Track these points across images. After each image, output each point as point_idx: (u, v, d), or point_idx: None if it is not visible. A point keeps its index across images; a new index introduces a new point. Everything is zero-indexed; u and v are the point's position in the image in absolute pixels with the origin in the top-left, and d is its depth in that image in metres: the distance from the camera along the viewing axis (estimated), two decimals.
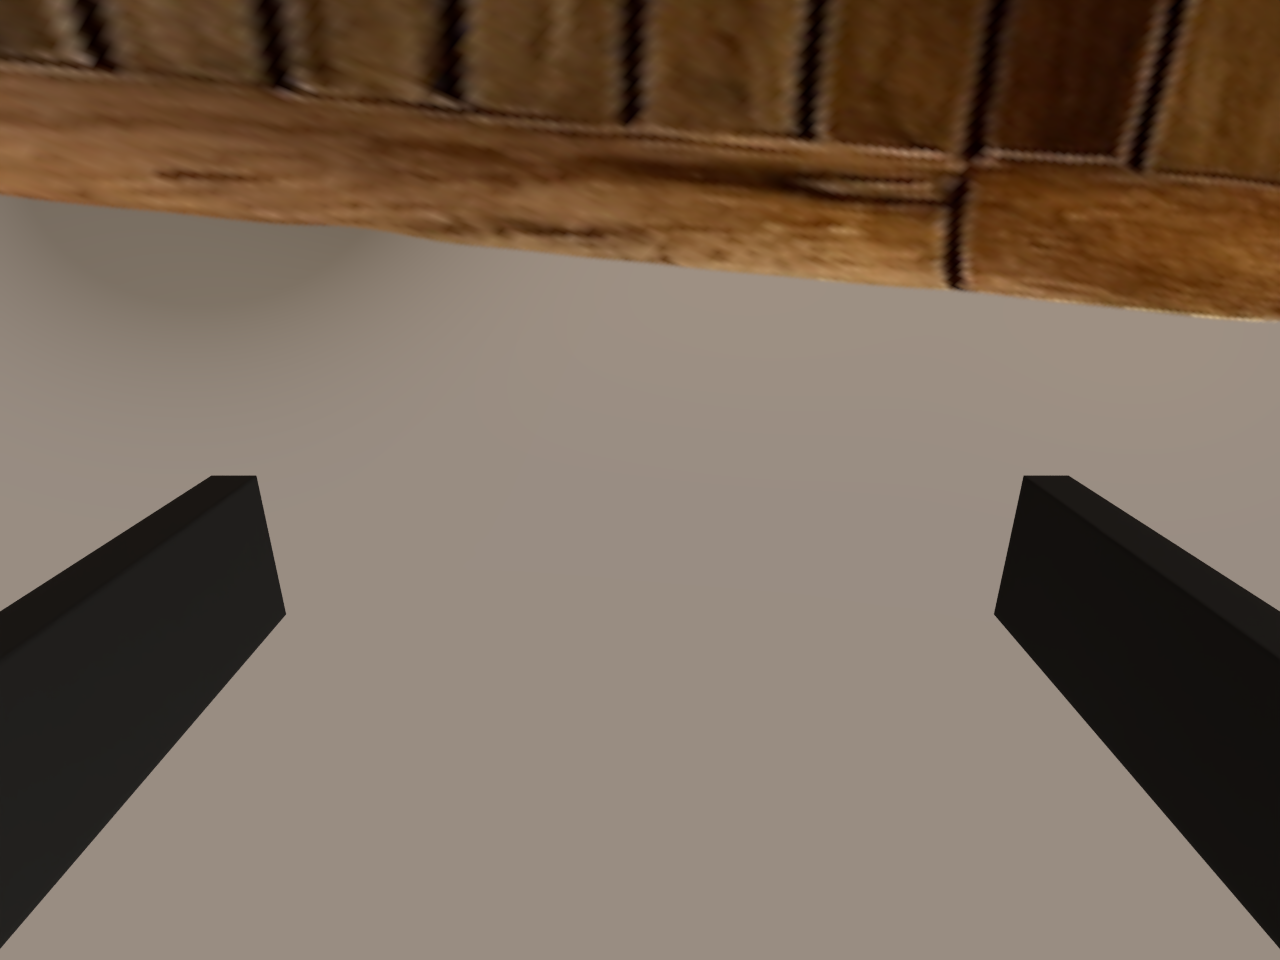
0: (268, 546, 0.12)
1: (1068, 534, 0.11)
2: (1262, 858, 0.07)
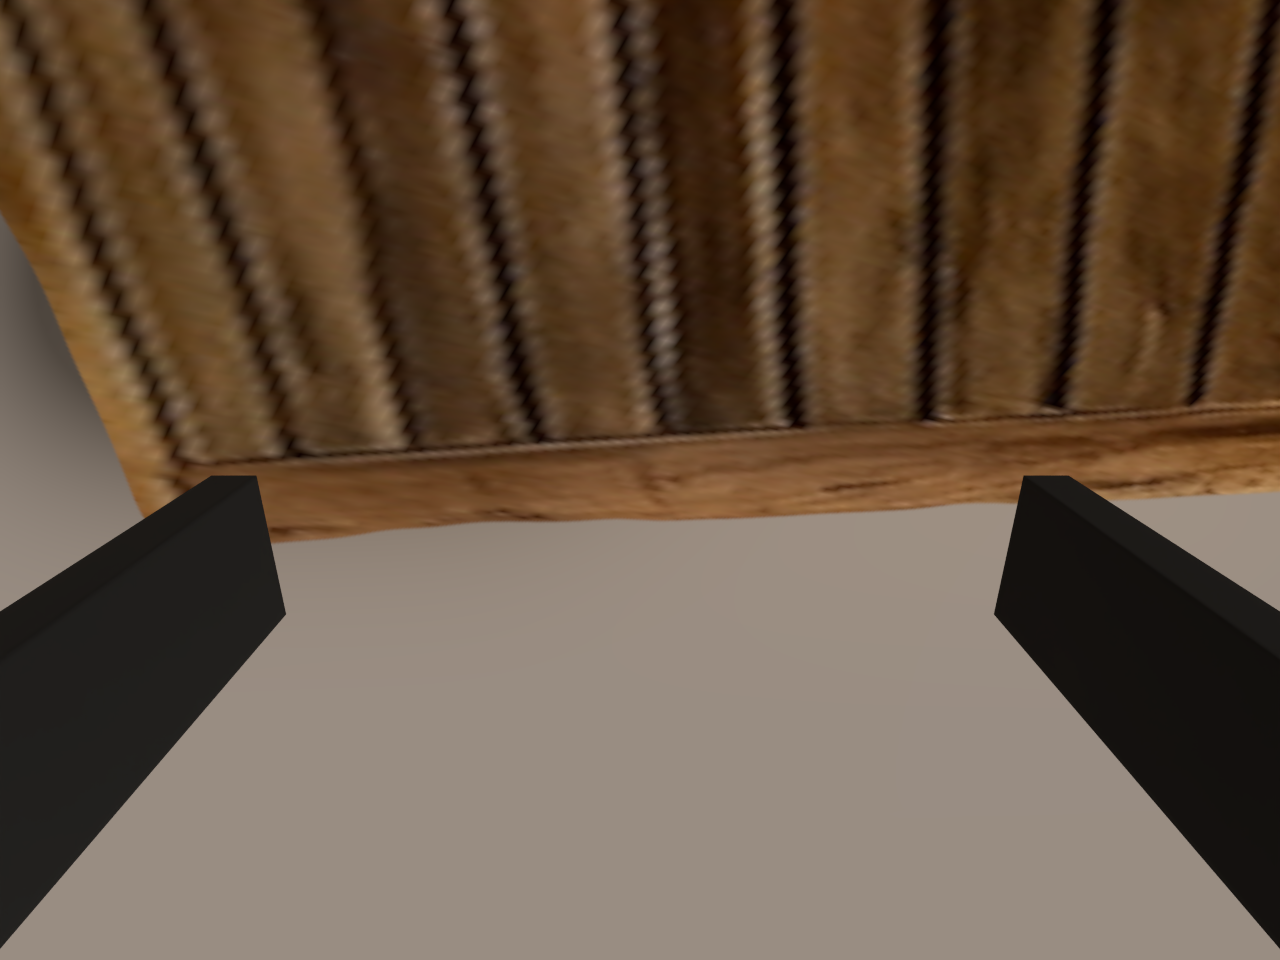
0: (269, 546, 0.12)
1: (1068, 534, 0.11)
2: (1262, 858, 0.07)
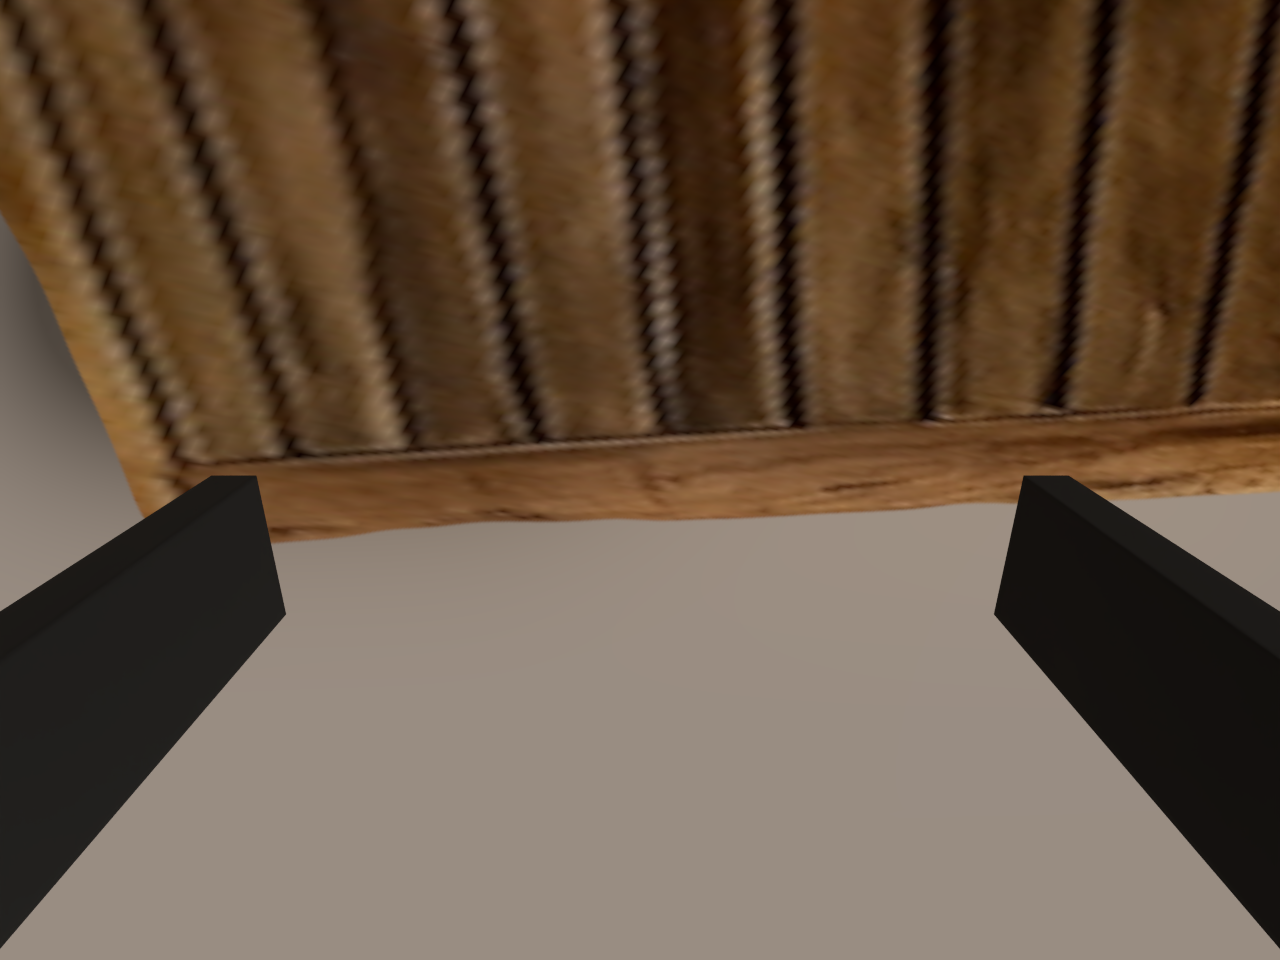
0: (269, 546, 0.12)
1: (1068, 534, 0.11)
2: (1262, 858, 0.07)
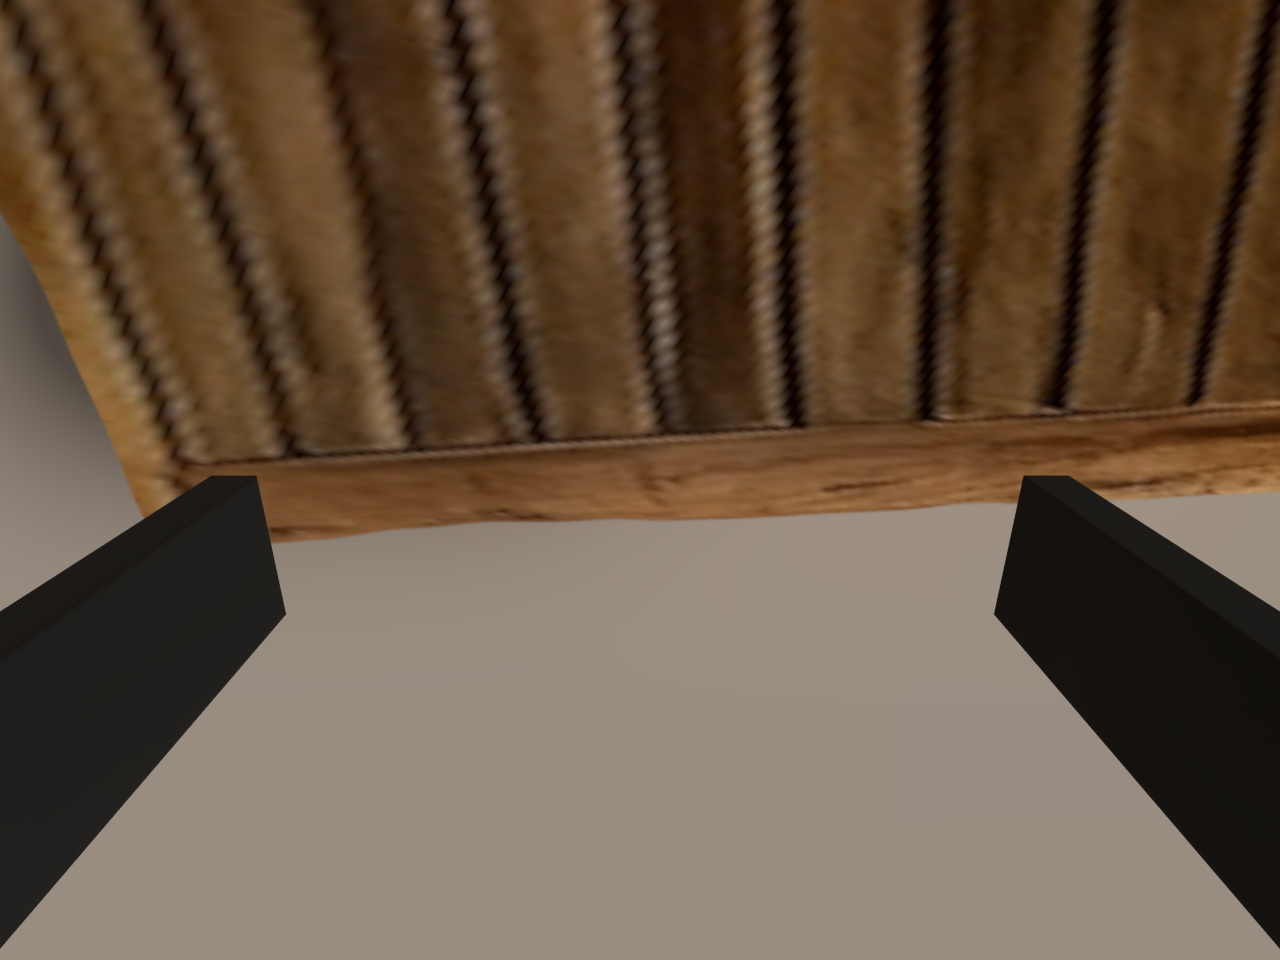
0: (269, 546, 0.12)
1: (1068, 534, 0.11)
2: (1262, 858, 0.07)
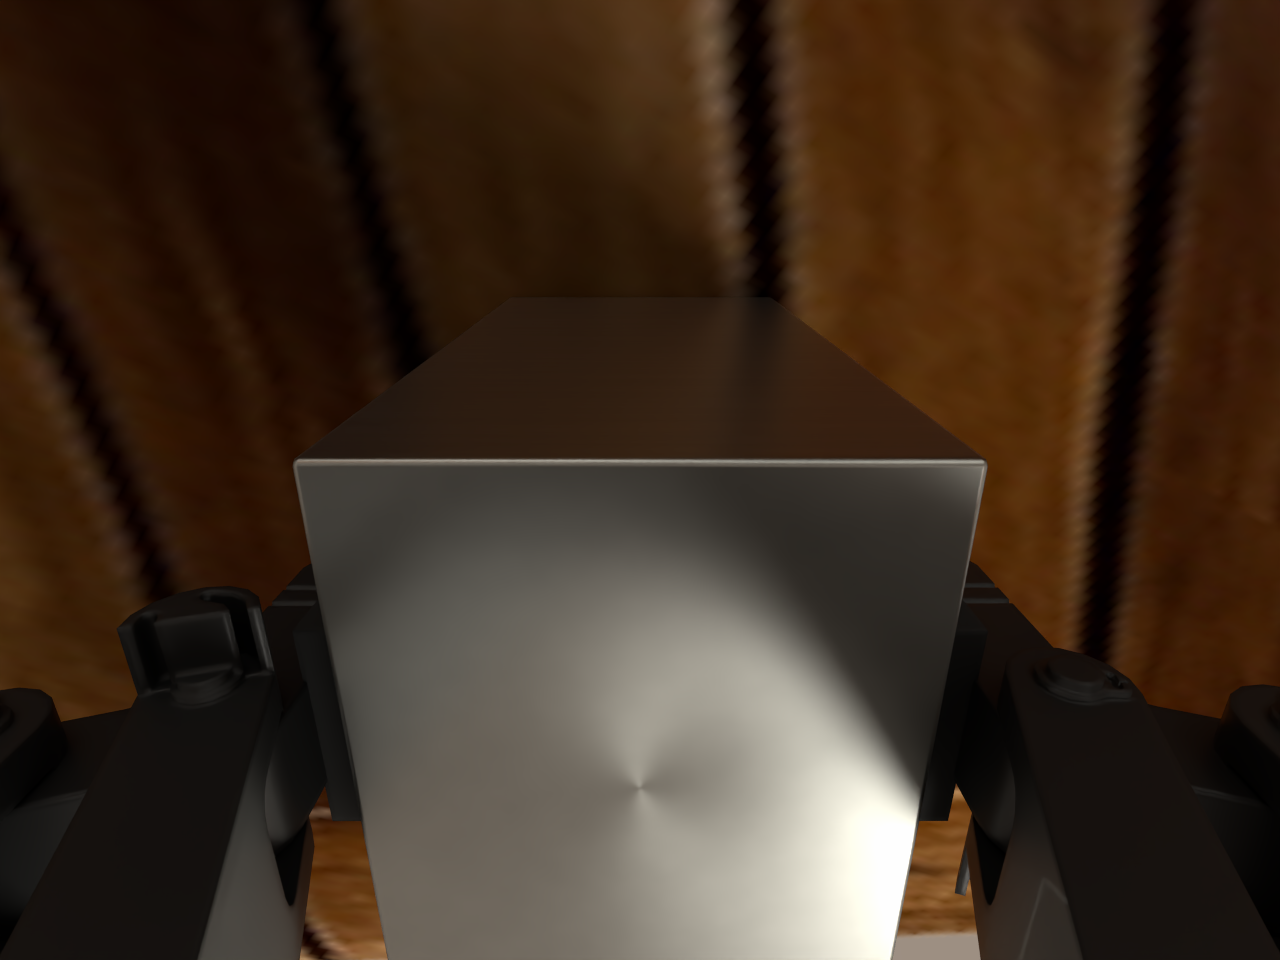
0: None
1: None
2: None
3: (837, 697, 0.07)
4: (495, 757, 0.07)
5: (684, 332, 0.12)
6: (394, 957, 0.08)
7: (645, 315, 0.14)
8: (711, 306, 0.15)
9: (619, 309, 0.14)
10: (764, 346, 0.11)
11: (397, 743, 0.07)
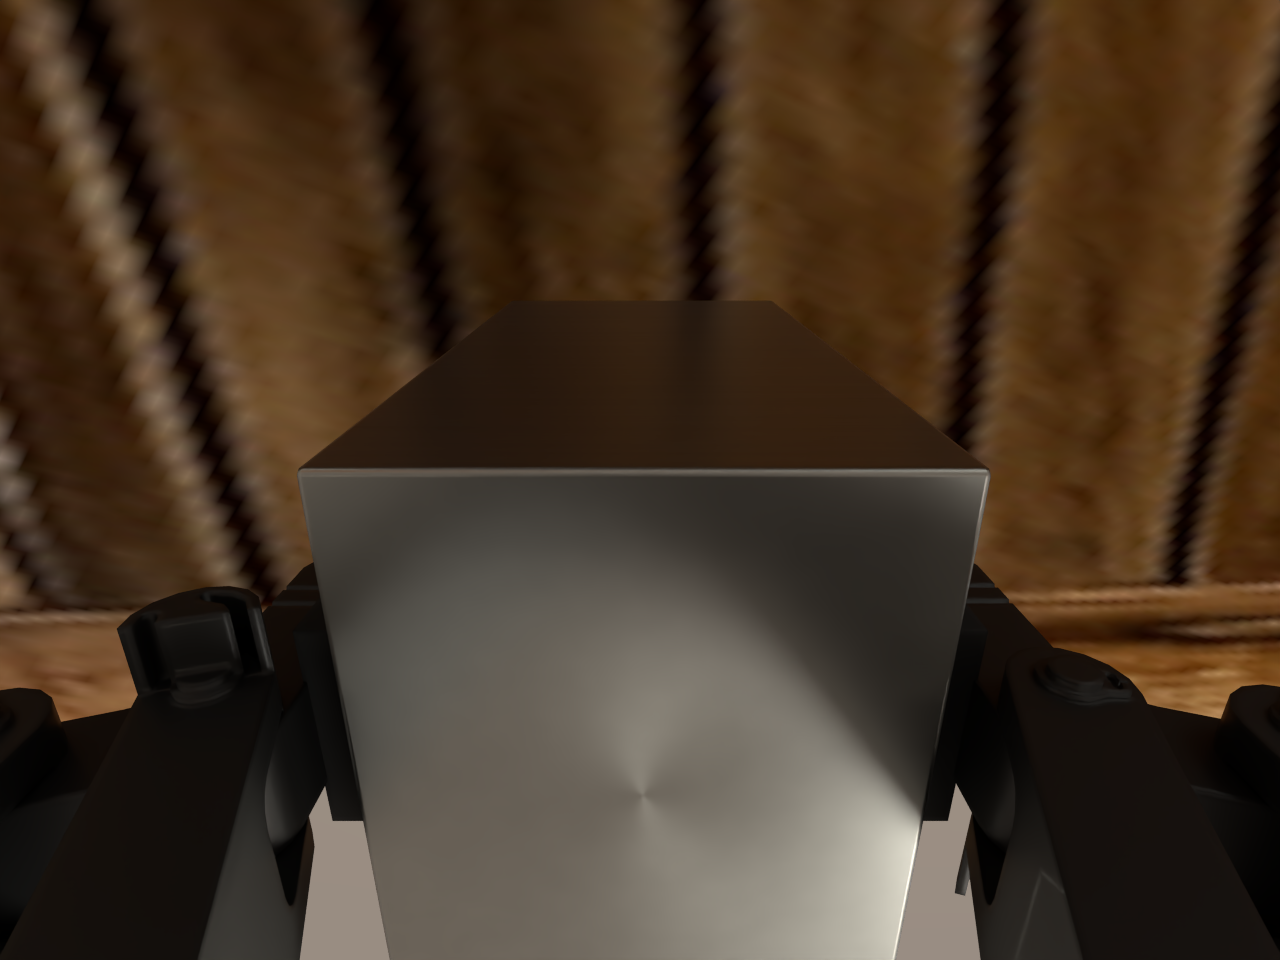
0: None
1: None
2: None
3: (840, 705, 0.07)
4: (499, 764, 0.07)
5: (686, 337, 0.12)
6: None
7: (647, 319, 0.14)
8: (712, 310, 0.15)
9: (620, 313, 0.14)
10: (766, 351, 0.11)
11: (401, 750, 0.07)
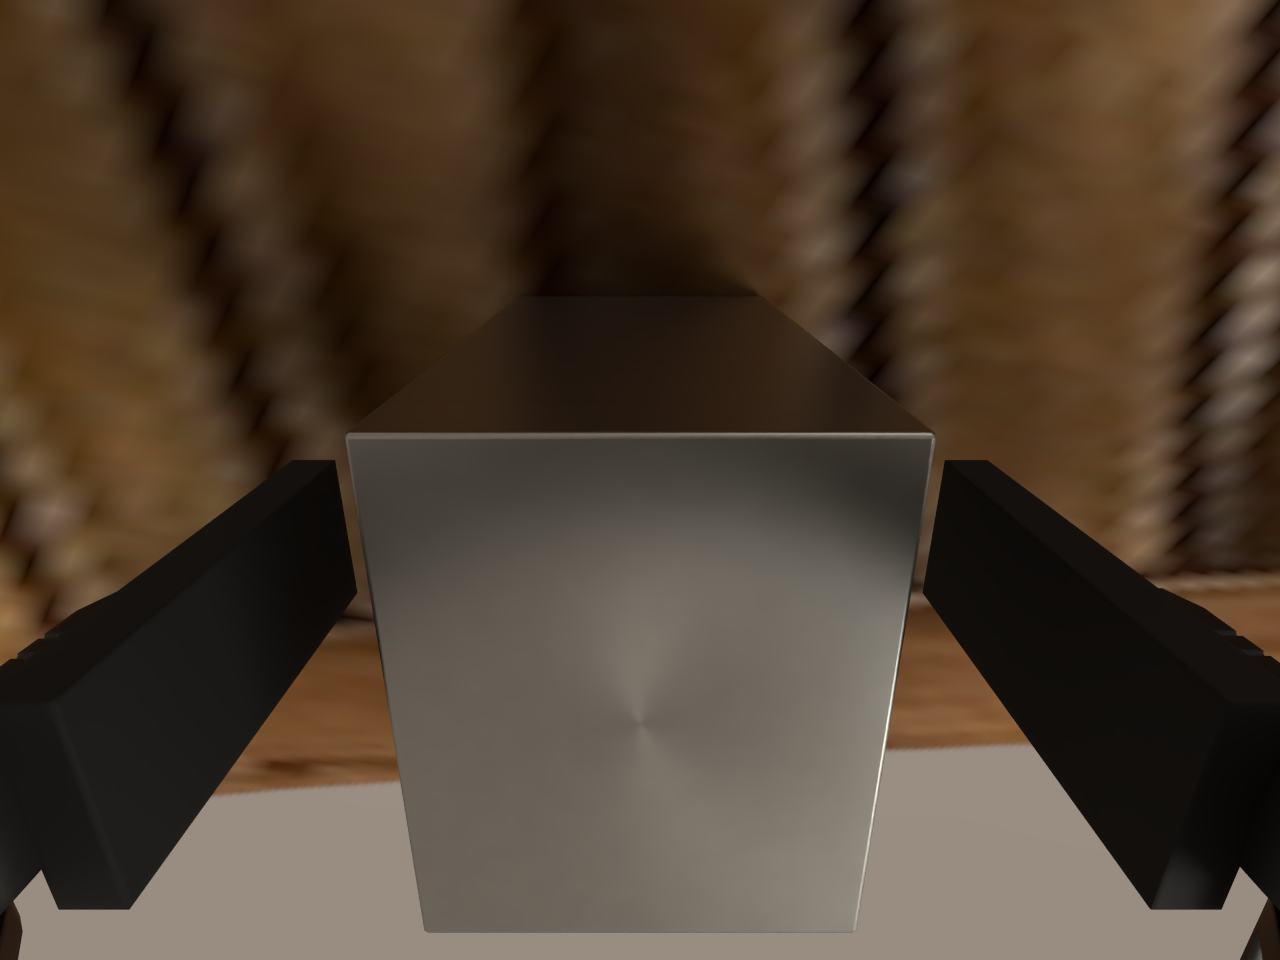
0: (343, 527, 0.13)
1: (978, 513, 0.11)
2: (1118, 800, 0.08)
3: (811, 640, 0.08)
4: (514, 695, 0.08)
5: (680, 328, 0.13)
6: (422, 881, 0.09)
7: (644, 313, 0.15)
8: (706, 304, 0.16)
9: (620, 307, 0.15)
10: (753, 340, 0.12)
11: (429, 683, 0.08)
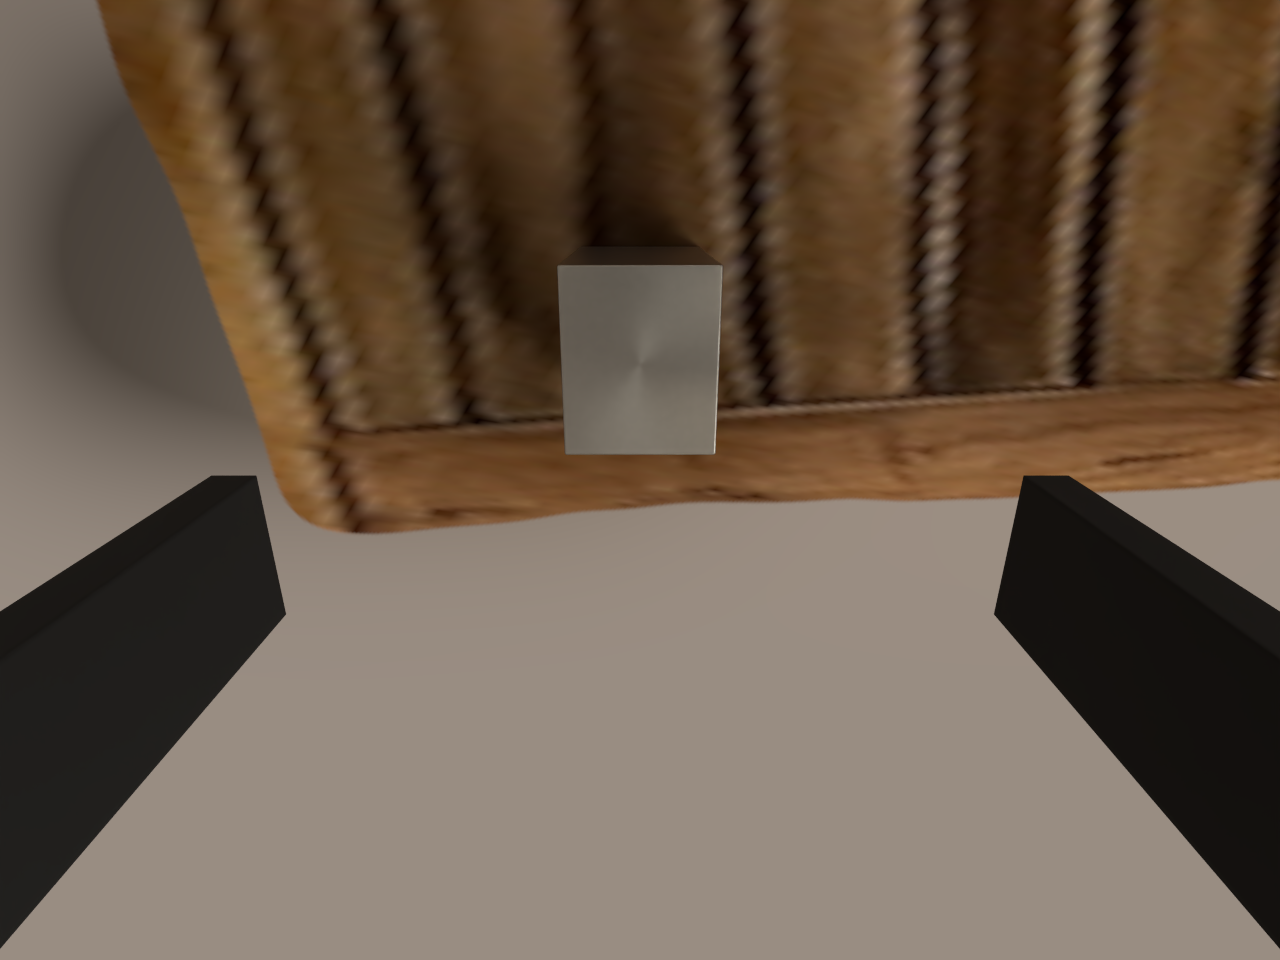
0: (268, 546, 0.12)
1: (1069, 535, 0.11)
2: (1262, 858, 0.07)
3: (691, 333, 0.26)
4: (601, 354, 0.27)
5: (656, 252, 0.31)
6: (566, 430, 0.28)
7: (642, 250, 0.33)
8: (670, 248, 0.34)
9: (631, 248, 0.34)
10: (684, 254, 0.30)
11: (575, 349, 0.26)
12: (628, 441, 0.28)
